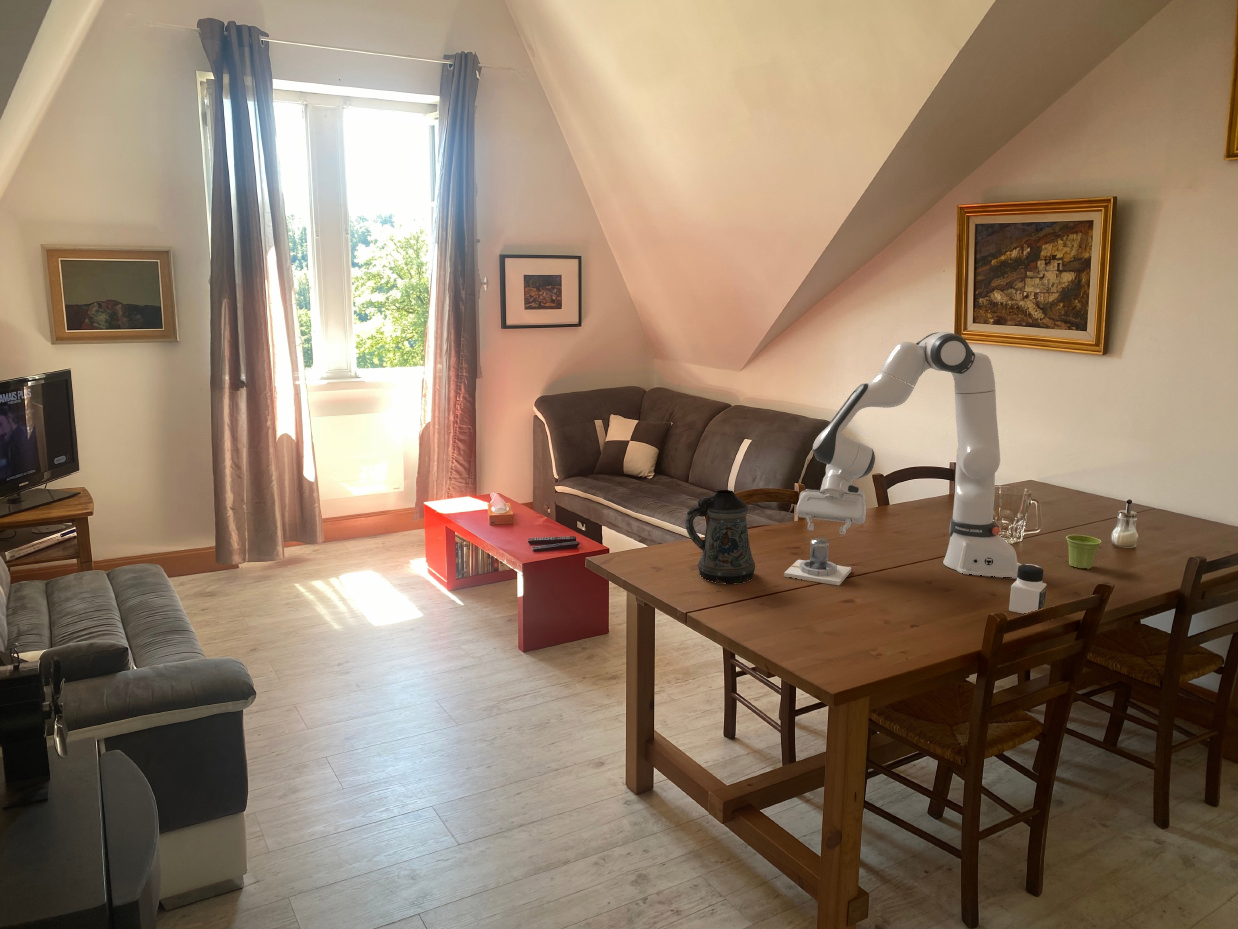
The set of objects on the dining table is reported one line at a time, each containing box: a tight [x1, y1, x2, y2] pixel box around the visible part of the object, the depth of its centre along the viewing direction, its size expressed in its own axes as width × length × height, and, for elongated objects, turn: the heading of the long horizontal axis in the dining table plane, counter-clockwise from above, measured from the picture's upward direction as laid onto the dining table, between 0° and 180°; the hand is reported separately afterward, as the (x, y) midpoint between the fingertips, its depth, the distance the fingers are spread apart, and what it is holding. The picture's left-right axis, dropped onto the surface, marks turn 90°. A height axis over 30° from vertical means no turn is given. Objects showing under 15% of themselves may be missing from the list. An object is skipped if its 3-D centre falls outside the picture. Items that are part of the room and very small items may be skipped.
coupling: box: [809, 537, 830, 570], centre depth 262 cm, size 5×5×9 cm
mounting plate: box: [783, 559, 852, 586], centre depth 263 cm, size 16×14×3 cm
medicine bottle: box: [1008, 563, 1047, 615], centre depth 234 cm, size 7×7×12 cm
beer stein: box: [684, 489, 756, 585], centre depth 258 cm, size 16×19×25 cm
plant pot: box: [1065, 534, 1102, 568], centre depth 270 cm, size 9×9×9 cm
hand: (825, 531), depth 265 cm, fingers open, 8 cm apart
